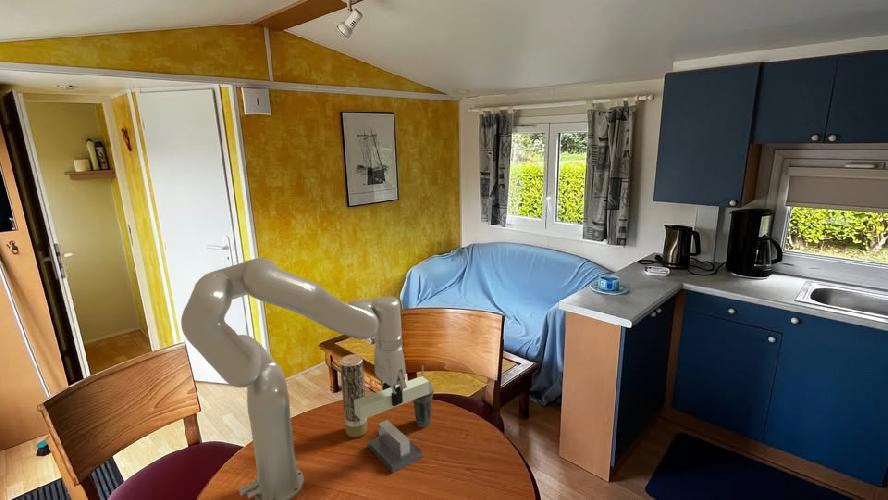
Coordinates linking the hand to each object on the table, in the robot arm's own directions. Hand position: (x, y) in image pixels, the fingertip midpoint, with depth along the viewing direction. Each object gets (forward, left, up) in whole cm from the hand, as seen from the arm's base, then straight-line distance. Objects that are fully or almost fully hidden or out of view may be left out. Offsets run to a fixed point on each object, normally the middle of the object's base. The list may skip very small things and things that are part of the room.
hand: (392, 399), depth 126 cm
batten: (0, 0, -1) cm, 1 cm away
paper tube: (-4, +16, -17) cm, 24 cm away
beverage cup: (+14, +6, -17) cm, 23 cm away
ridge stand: (0, 0, -17) cm, 17 cm away
